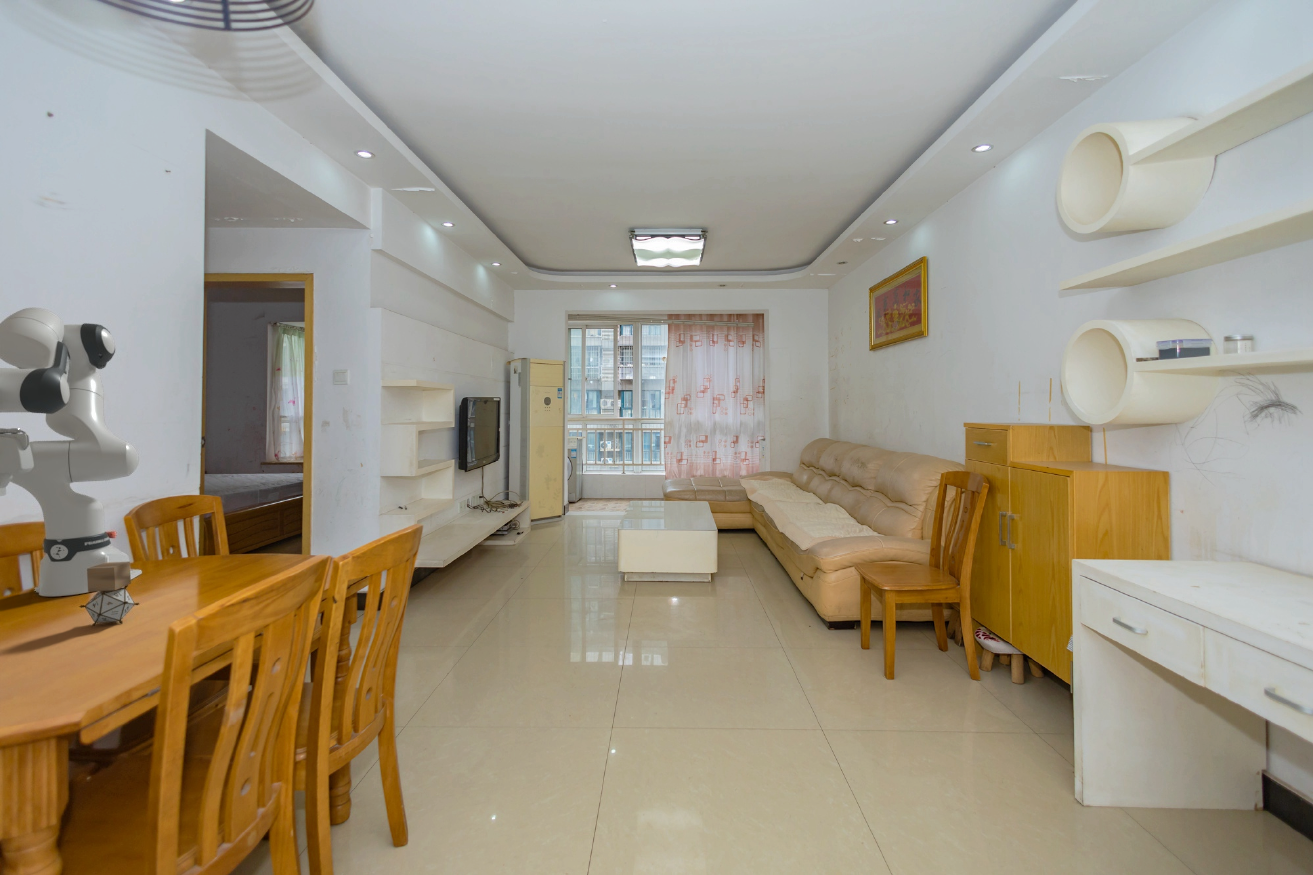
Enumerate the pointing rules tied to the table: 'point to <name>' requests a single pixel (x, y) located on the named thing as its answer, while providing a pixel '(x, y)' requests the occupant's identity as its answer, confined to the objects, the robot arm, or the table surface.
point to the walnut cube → (108, 576)
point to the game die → (109, 605)
